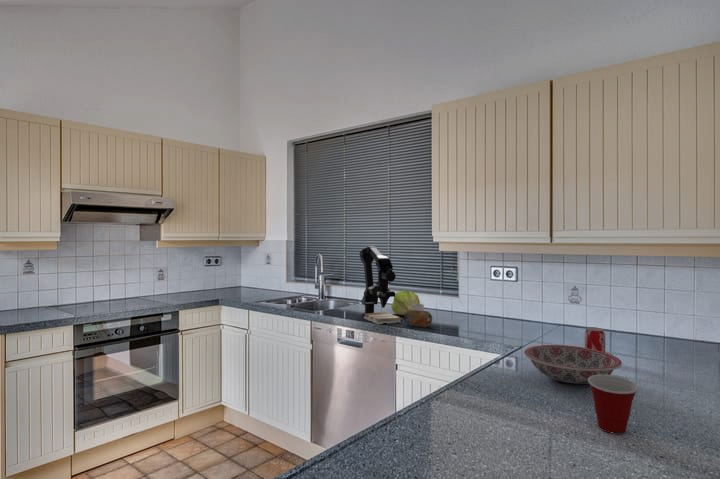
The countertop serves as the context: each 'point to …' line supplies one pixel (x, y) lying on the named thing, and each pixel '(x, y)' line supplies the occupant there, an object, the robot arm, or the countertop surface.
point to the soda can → (595, 339)
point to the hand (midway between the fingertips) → (383, 307)
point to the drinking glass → (418, 307)
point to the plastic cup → (612, 401)
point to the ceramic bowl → (571, 362)
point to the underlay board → (379, 322)
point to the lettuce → (404, 302)
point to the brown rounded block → (418, 318)
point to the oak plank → (383, 317)
